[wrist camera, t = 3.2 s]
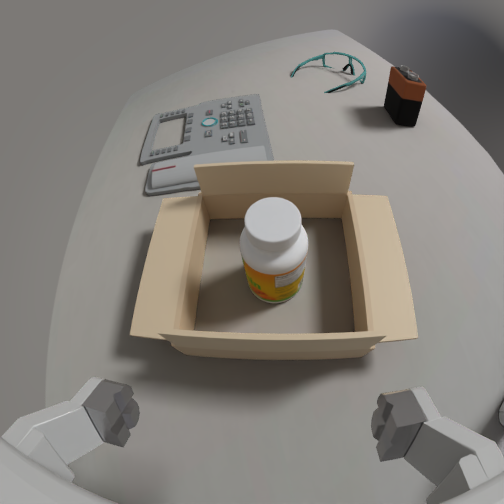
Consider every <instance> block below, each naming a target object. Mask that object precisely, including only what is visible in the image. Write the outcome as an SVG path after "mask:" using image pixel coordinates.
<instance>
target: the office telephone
mask: <svg viewBox="0 0 504 504" xmlns="http://www.w3.org/2000/svg"><path fill="white" fill-rule="evenodd" d="M183 117H187V119H186V127H185V134H184V140H183V144H180V145H175V146H171V147H166V148H161V149H157V150H152V147H153V143H154V139H155V136H156V132H157V129H158V126H159V124H160V123H162V122H166V121H170V120H174V119H178V118H183ZM186 155H188V156H186ZM181 156H185V157H181ZM175 157H180V158H175ZM170 158H175V159H170ZM165 159H170V160H166V161H161V160H165ZM156 161H161V162H157V163H153V164H152V165H151V167H150V170H149V174H148V178H147V183H146V187H145V191H146V193H147V195H150V196H153V195H160V194H168V193H174V192H181V191H186V190H197V189H200V186H199V183H198V180H197V177H196V173H195V170H194V165H196V164H210V163H225V162H246V161H274V158H273V153H272V149H271V145H270V140H269V136H268V132H267V128H266V124H265V120H264V116H263V112H262V108H261V100H260V96H259V94H254V95H245V96H238V97H231V98H224V99H218V100H212V101H207V102H203V103H200V104H199V105H196V106H192V107H188V108H183V109H179V110H174V111H170V112H165V113H158V114H156V115H155V116H154V117H153V120H152V123H151V125H150V128H149V131H148V134H147V137H146V140H145V143H144V146H143V150H142V153H141V158H140V162H141V164H142V165H145V164H148V163H152V162H156Z"/></svg>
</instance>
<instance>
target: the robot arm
mask: <svg viewBox="0 0 504 504" xmlns="http://www.w3.org/2000/svg"><path fill="white" fill-rule="evenodd" d="M133 394H134V393H133V390H132V388H131V386H129V385H126V384H122V383H118V382H114V381H110V380H106V379H102V378H98V377H91V378H90V379H89V380H88V381H87V383H86V384H85V385H84V386H83V387H82V388H81V389H80V390H79V392H78V393H77V394H76V395H75V396H74V397H73V398H72V400H71V401H70V402H69V401H64V402H62V403H59V404H56V405H54V406H51V407H48V408H46V409H43V410H40V411H37V412H34V413H32V414H29V415H26V416H23V417H20V418H18V420H17V421H15V423H14V424H13V425H12V426H11V427H10V428H9V429H8V430H7V431H6V432H5V434H4V435H3V436H2V437H0V504H119V503H116V502H114V501H111V500H109V499H106V498H104V497H101V496H99V495H97V494H95V493H92V492H90V491H88V490H86V489H84V488H82V487H80V486H77V485H75V484H74V483H72V480H73V479H74V477H75V475H74V473H73V471H72V470H71V469H70V468H69V467H68V465H67V464H69V463H71V462H73V461H74V460H76V459H78V458H79V457H81V456H83V455H84V454H86V453H88V452H89V451H91V450H93V449H94V448H96V447H97V446H99V445H101V444H102V443H103V442H106V443H110V444H113V445H116V446H120V447H124V446H125V444H126V442H127V440H128V438H129V437H130V431H129V429H131V428H133V427H135V426H136V424H137V422H138V420H139V414H140V412H139V406H138V403H137V402H136V401H135V400H134V399H133V398H132V396H133ZM377 404H378V408H377V409H376V410H375V411H374V412H373V416H372V421H371V428H372V434H373V437H374V438H375V439H377V440H378V441H379V442H378V444H377V446H376V448H377V452H378V455H379V459H380V462H382V461H387V460H393V459H398V458H403V457H404V459H405V460H406V461H407V462H409V463H410V464H411V465H412V466H413V467H414V468H416V469H417V470H418V471H419V472H420V473H422V474H423V475H424V476H425V477H426V478H427V479H429V480H430V481H431V482H432V483H434V484H435V485H436V486H437V488H436V489H435V490H434V491H433V492H432V493H431V494H430V495H429V496H428V498H427V499H426V501H427V504H504V456H503V455H502V453H501V451H500V449H499V448H498V446H497V444H496V443H495V442H494V441H492V440H490V439H488V438H486V437H484V436H482V435H480V434H478V433H476V432H474V431H472V430H470V429H468V428H466V427H464V426H462V425H460V424H458V423H456V422H455V421H453V420H451V419H449V418H447V417H441V416H440V414H439V412H438V410H437V408H436V407H435V405H434V403H433V402H432V400H431V398H430V396H429V395H428V393H427V391H426V390H425V388H424V387H422V386H420V387H415V388H410V389H405V390H400V391H394V392H388V393H382V394H380V396H379V397H378V400H377Z"/></svg>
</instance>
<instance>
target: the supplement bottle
mask: <svg viewBox="0 0 504 504" xmlns="http://www.w3.org/2000/svg"><path fill="white" fill-rule="evenodd" d="M244 223H245V227H244V229H243V231H242V233H241V236H240V251H241V255H242V260H243V264H244V268H245V272H246V276H247V281H248V284H249V287H250V289H251V291H252V292H253V294H254V295H255V296H256V297H258V298H259V299H261V300H263V301H265V302H268V303H281V302H285V301H287V300H289V299H291V298H292V297H294V296H295V295H296V294H297V292H298V291H299V289H300V288H301V285H302V282H303V277H304V270H305V264H306V258H307V251H308V237H307V233H306V231H305V229H304V227H303V226H302V224H301V214H300V212H299V210H298V208H297V207H296V206H295V205H294V204H293V203H292V202H290V201H288V200H286V199H283V198H278V197H269V198H264V199H261V200H259V201H257V202H255V203H254V204H252V205H251V206H250V207H249V209H248V210H247V212H246V214H245V219H244Z"/></svg>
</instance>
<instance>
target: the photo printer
mask: <svg viewBox="0 0 504 504" xmlns="http://www.w3.org/2000/svg"><path fill="white" fill-rule="evenodd" d="M499 411H500V412H499V420H500V423H501V424H502V425H503V426H504V402H503V403H502V405H501V407H500V410H499Z"/></svg>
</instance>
